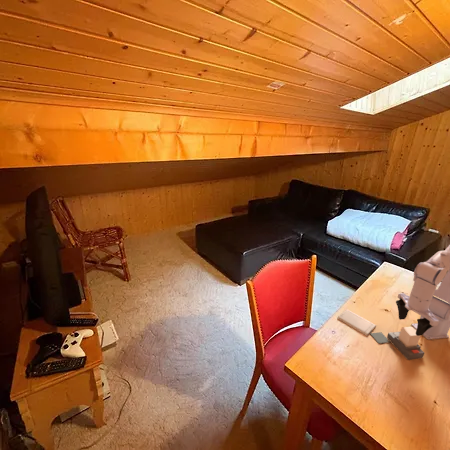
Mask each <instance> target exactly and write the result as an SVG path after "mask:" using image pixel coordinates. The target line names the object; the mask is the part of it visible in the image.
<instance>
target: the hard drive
mask: <svg viewBox="0 0 450 450" xmlns="http://www.w3.org/2000/svg"><path fill="white" fill-rule="evenodd" d="M337 319H338V320H340V321H341V322H343V323H344V324H346V325H348V326H350V327H351V328H352V329H355V330H356V331H358V332H360V333H361V334H363V335H365V336H366V337H368V336H369V335H370V333H372V332H373V330H375V328H376V327H377V324H375V323H373V322H372V321H370V320H368V319H366V318H365V317H362V316H361V315H358V314H357V313H355V312H353V311H351V310H350V309H347V308H346V309H345V310H344V311H342V313H340V314H339V315H338V316H337Z"/></svg>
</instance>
